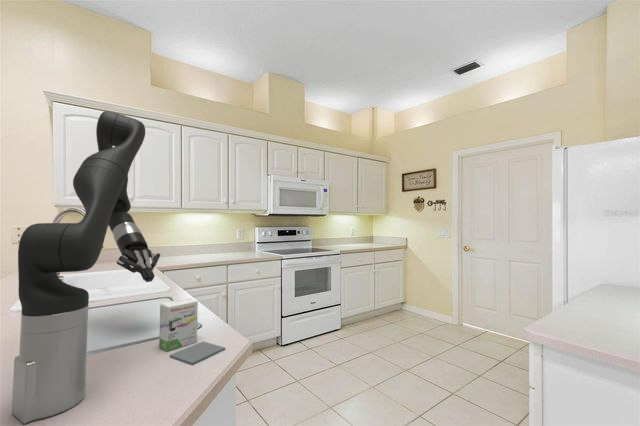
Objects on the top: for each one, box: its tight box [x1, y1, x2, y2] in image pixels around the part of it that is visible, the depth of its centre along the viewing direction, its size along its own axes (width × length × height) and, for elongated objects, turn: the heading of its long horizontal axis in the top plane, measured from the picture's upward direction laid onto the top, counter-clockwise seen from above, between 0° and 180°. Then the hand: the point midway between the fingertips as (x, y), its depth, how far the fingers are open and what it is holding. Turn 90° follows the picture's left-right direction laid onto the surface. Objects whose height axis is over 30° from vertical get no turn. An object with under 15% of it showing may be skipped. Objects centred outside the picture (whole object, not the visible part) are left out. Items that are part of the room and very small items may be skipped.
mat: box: [169, 341, 226, 366], centre depth 74 cm, size 10×9×1 cm
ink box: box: [158, 297, 199, 352], centre depth 80 cm, size 8×5×12 cm, turn 140°
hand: (150, 280), depth 88 cm, fingers closed
